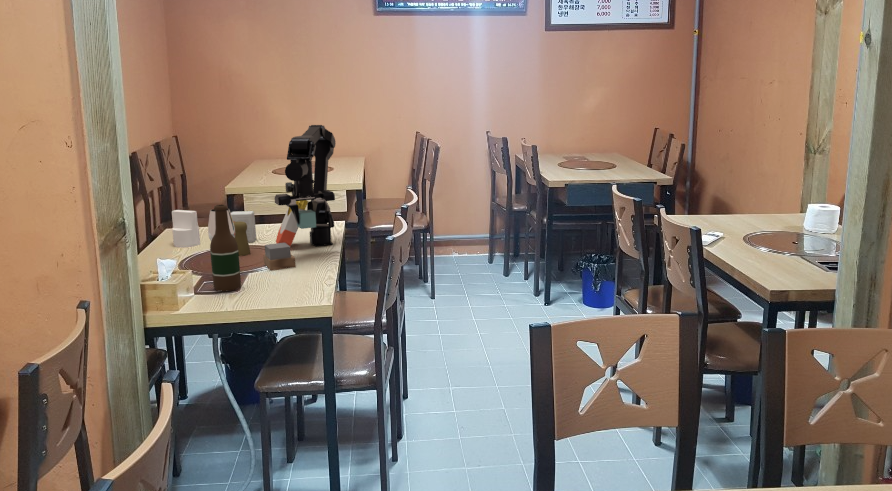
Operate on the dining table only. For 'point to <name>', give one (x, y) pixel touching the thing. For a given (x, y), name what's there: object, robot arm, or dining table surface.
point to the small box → (248, 219)
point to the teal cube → (307, 219)
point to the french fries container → (289, 225)
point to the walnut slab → (280, 263)
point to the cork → (241, 238)
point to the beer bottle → (224, 254)
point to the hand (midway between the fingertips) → (306, 223)
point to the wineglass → (212, 226)
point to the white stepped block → (185, 228)
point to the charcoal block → (277, 251)
